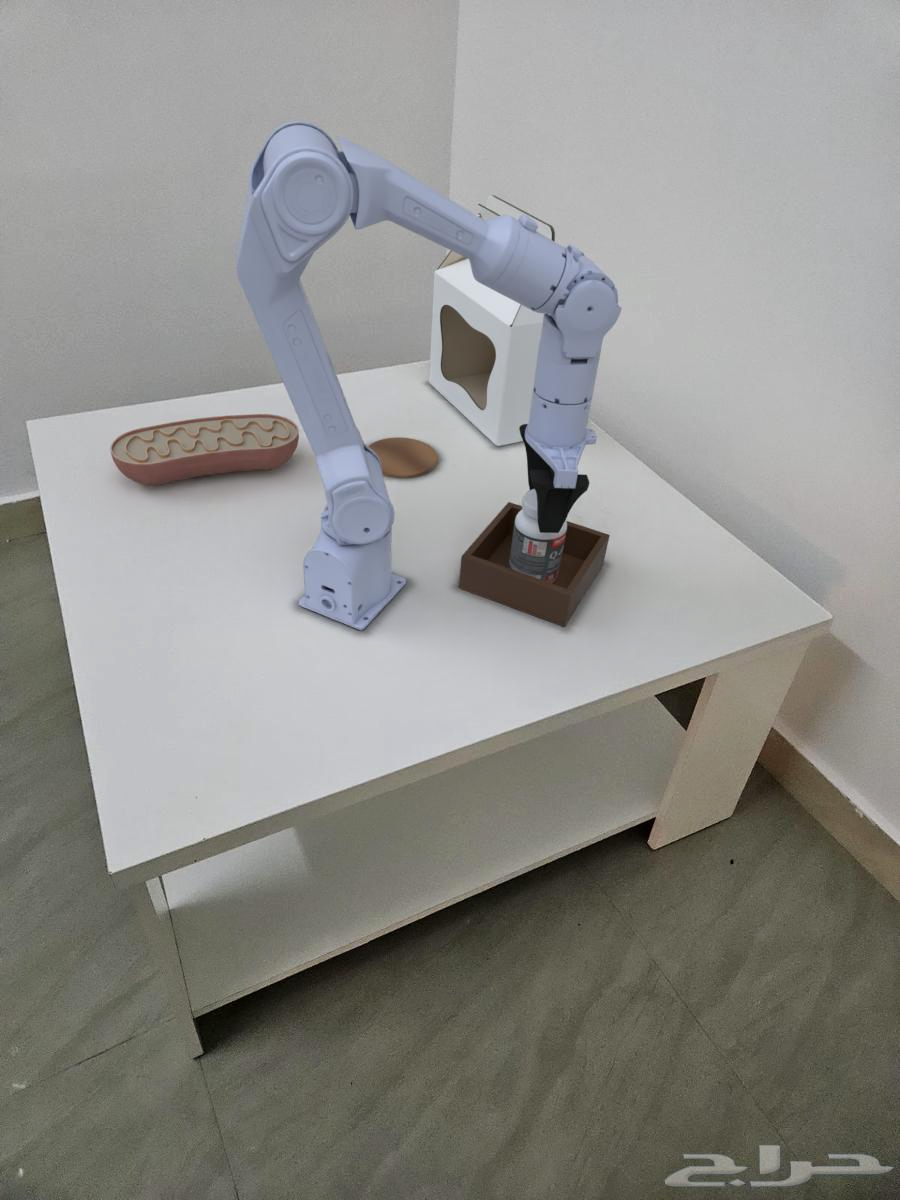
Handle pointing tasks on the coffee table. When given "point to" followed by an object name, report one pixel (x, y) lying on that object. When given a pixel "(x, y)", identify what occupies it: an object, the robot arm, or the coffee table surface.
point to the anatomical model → (204, 447)
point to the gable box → (484, 343)
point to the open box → (551, 602)
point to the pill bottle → (535, 544)
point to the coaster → (404, 457)
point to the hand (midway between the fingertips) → (543, 510)
